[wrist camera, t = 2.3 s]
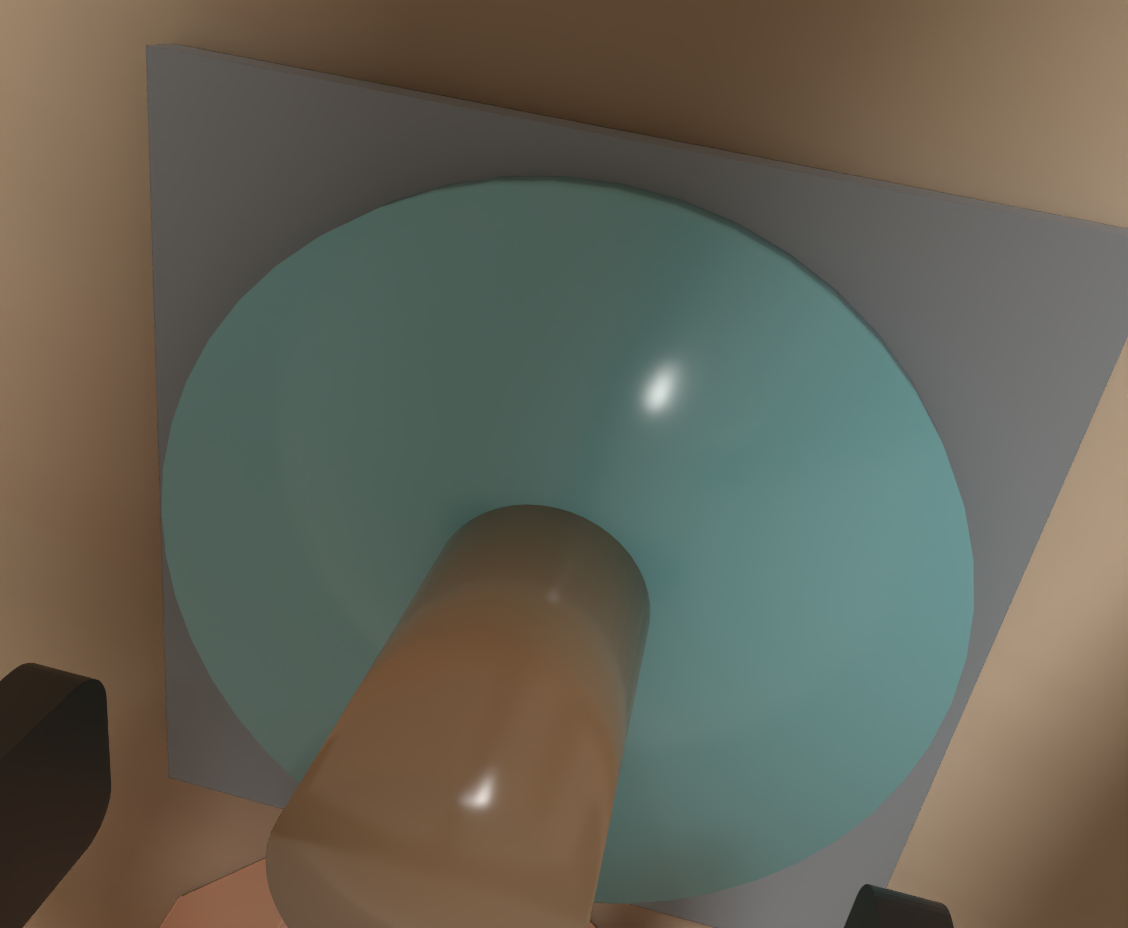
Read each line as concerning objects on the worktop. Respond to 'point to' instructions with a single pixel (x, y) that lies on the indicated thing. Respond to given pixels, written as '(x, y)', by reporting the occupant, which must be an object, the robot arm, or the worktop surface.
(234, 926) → the bowl
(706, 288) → the lid
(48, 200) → the worktop surface
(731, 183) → the mat
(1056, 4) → the worktop surface
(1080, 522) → the worktop surface
